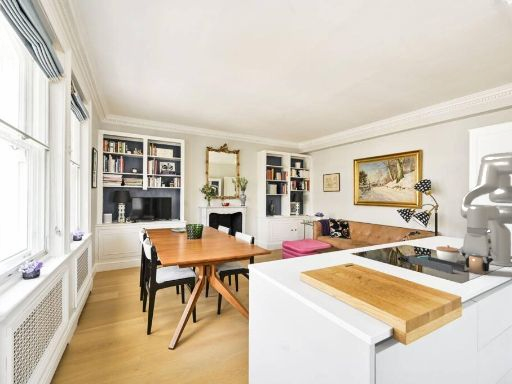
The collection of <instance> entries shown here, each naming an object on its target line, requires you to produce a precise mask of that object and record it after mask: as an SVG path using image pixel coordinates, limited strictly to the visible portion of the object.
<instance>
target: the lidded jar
mask: <svg viewBox="0 0 512 384" xmlns="http://www.w3.org/2000/svg"><path fill="white" fill-rule="evenodd" d="M459 249H460V248H458V247H454V246H453V247H452V246H450V245H446V246H436V249H435V250H436V256H437V258H438V259H443V260H447V261H451V262H456V263H458V262H459V260H460V258H461V253H460V252H459V251H458V250H459Z"/></svg>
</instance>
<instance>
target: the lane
mask: <svg viewBox="0 0 512 384" xmlns="http://www.w3.org/2000/svg"><path fill="white" fill-rule="evenodd" d="M420 256H426V255H425V254H419V253H417V254H411V255H408V256H407V262H408V263H411V264H414V265H417V264H418V266H421V267H426V268H429V269H432V270H436V271H439V272H443V273H447V274H451V275H452V274H454V270H455V271H458V272H463V273H465V267H466V263H465V264H463V263H459V262H451V261H447V260H443V259H439V258H438V257H434V256H429V255H428V256H429V260H425V259H421V258H417V257H420Z"/></svg>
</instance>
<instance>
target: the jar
mask: <svg viewBox="0 0 512 384" xmlns="http://www.w3.org/2000/svg"><path fill="white" fill-rule="evenodd" d="M483 263H484V260H483V258H482V256H481V255H479V254H473V253H469V268H468V272H469V273H471V274H475V275H483V276H484V275H486V274H487V273H486V272H487V271H486V272H484V271H483Z"/></svg>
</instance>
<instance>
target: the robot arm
mask: <svg viewBox="0 0 512 384" xmlns="http://www.w3.org/2000/svg"><path fill="white" fill-rule="evenodd" d="M511 175H512V151H508V152H499V153H489V154H486V155H483V156H482V157H481V159H480V165H479V170H478V175H477V180H476V185H475V186H474V187H473V188H471V189H470V190H469V191H468V192H467V193H466V194H465V195H464V196H463V198H462V201H461V207H460V215H461V216H462V218H463V219H466V232H465V234H464V238H463V245H462V246H461V247H460V248H458V249H459V250H458V251H459V252H460V255H462V256H463V259H465V267H466V268H468V269H469V253H473V254H479V255H481V256H482V258H483V260H484V263H483V271H484V272H489V270H490V265H492V266H500V267H508V268H509V267H512V232H511V230H510V228H509V227H508V226H507V224H508V225H512V205H499V204H512V184H511V180H512V179H511ZM487 194H488V198H489V201H490V202H492V203H496V205H493V204H492V205H491V204H472V202H473V201H474V200H476V199H477V198H479V197H481V196H485V195H487ZM497 204H498V205H497Z"/></svg>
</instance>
